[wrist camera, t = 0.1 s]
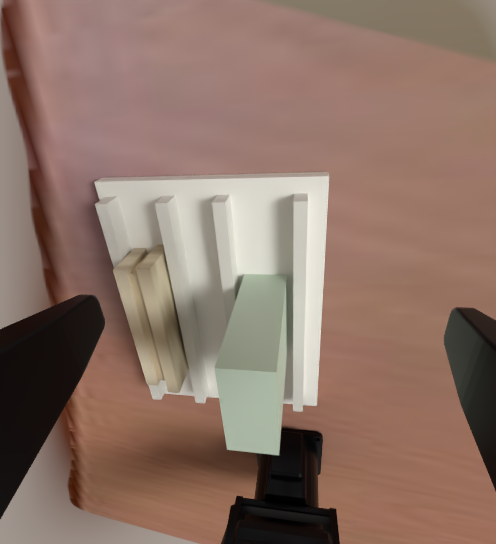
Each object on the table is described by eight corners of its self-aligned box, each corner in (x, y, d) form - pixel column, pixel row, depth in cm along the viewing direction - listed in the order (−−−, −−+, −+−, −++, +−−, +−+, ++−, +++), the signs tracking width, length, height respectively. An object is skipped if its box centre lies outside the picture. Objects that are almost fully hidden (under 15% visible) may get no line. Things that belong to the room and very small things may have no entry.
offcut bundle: (192, 360, 29) (179, 393, 26) (162, 358, 30) (146, 390, 27) (169, 244, 24) (149, 269, 21) (133, 244, 24) (109, 268, 21)
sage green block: (287, 345, 27) (279, 455, 19) (249, 343, 27) (227, 449, 20) (286, 274, 24) (276, 372, 16) (244, 273, 24) (214, 368, 17)
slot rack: (316, 396, 31) (317, 421, 29) (158, 384, 33) (148, 405, 31) (328, 171, 21) (330, 183, 19) (102, 177, 23) (81, 188, 21)
